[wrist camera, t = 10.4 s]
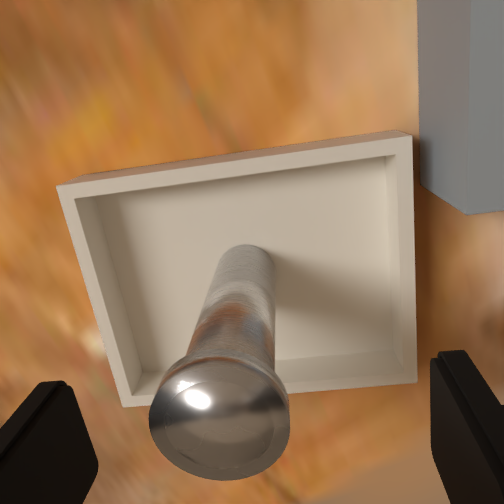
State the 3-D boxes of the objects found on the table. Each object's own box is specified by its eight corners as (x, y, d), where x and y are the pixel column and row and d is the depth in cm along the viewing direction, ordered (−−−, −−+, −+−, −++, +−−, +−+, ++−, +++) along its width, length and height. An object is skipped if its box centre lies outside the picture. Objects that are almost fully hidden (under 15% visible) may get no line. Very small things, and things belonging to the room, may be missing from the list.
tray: (395, 129, 18) (412, 135, 16) (402, 351, 22) (417, 382, 20) (81, 174, 20) (55, 186, 17) (138, 375, 23) (122, 407, 21)
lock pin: (279, 231, 20) (280, 360, 10) (289, 302, 21) (297, 476, 11) (201, 241, 20) (133, 374, 11) (215, 310, 21) (165, 484, 12)
